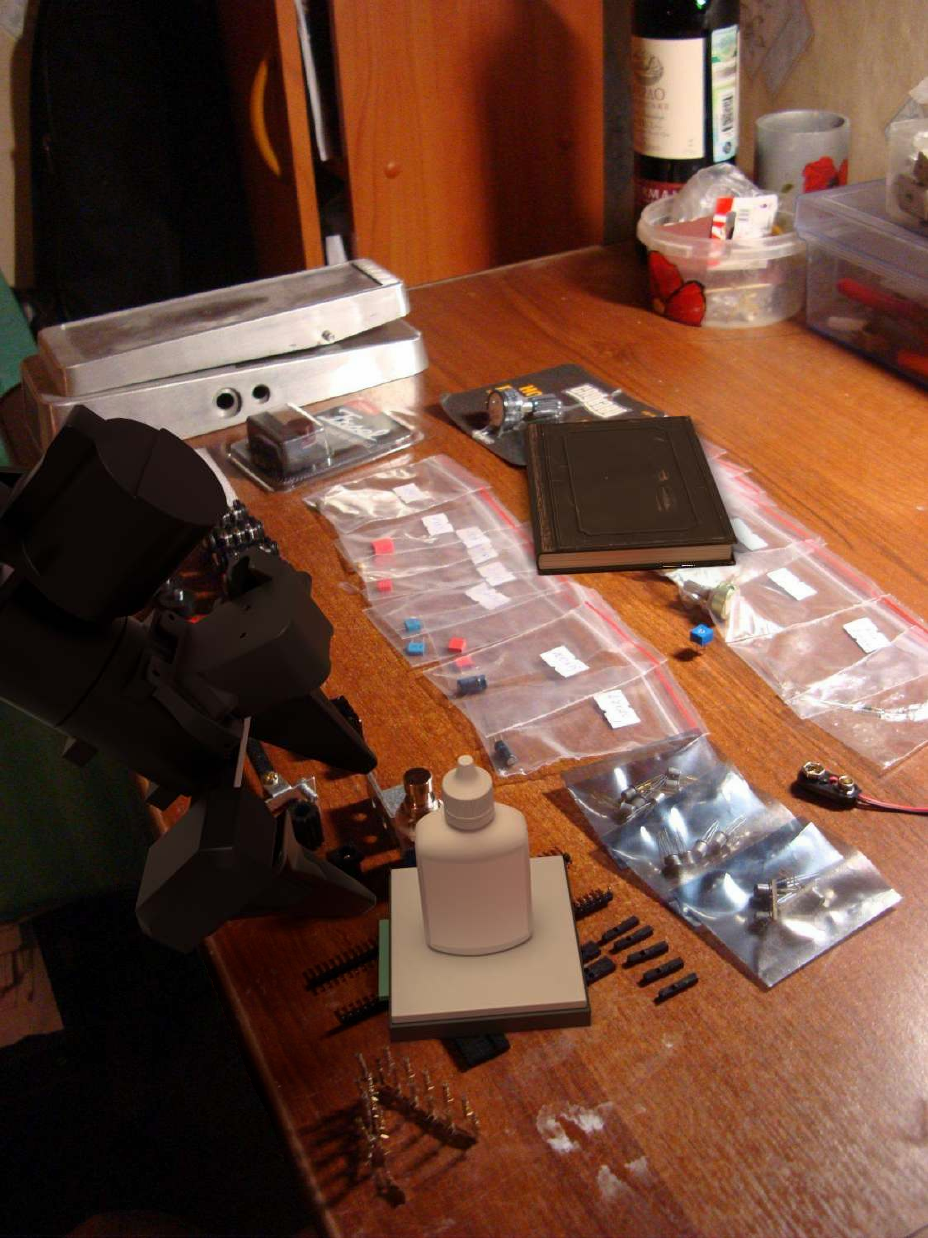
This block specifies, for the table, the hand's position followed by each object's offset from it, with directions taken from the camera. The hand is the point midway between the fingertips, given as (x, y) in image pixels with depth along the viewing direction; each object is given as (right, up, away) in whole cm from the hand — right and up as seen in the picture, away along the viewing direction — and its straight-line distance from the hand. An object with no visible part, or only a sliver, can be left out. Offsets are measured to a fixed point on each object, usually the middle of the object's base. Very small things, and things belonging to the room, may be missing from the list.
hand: (371, 832), depth 56 cm
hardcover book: (+18, +21, +46) cm, 54 cm away
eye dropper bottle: (+5, -6, +5) cm, 9 cm away
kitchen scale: (+6, -8, +6) cm, 12 cm away
